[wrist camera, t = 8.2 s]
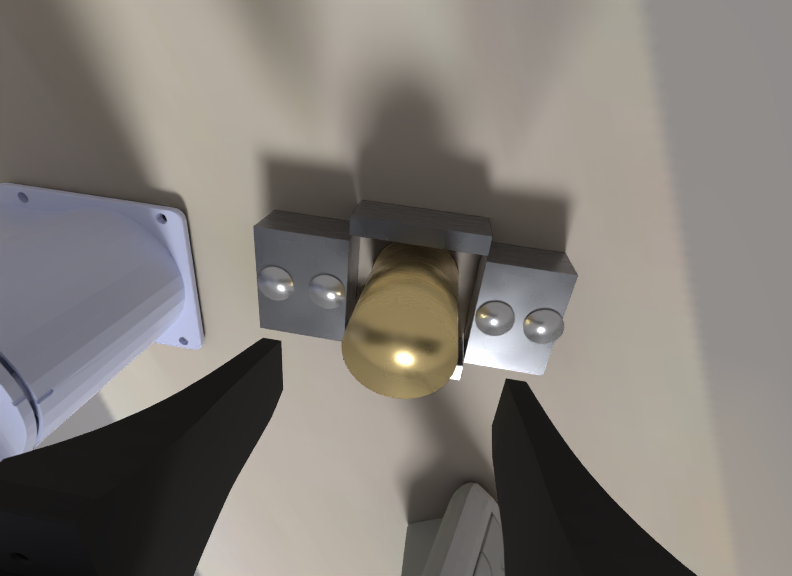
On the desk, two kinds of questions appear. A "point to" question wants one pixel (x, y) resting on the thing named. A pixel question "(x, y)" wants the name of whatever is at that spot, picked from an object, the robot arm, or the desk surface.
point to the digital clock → (458, 538)
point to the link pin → (405, 323)
